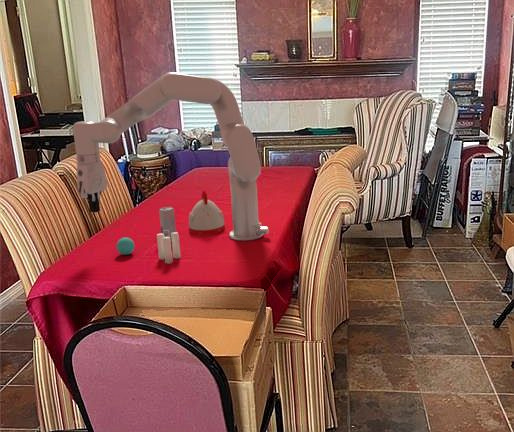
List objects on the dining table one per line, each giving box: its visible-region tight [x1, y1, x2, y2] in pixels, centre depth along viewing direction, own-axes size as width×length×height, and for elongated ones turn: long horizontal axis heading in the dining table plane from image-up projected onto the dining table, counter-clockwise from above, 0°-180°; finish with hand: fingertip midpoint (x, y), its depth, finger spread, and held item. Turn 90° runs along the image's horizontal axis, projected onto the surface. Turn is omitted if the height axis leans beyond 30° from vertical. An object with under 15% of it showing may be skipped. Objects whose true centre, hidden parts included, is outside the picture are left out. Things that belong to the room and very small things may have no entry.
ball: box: [116, 236, 135, 256], centre depth 193 cm, size 6×6×6 cm
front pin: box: [156, 233, 165, 261], centre depth 186 cm, size 2×2×8 cm
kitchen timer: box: [188, 190, 226, 235], centre depth 216 cm, size 14×14×15 cm
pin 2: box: [171, 231, 181, 259], centre depth 187 cm, size 2×2×8 cm
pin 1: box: [163, 237, 174, 265], centre depth 182 cm, size 2×2×8 cm
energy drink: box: [158, 206, 177, 242], centre depth 205 cm, size 5×5×12 cm
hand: (94, 211), depth 192 cm, fingers closed
